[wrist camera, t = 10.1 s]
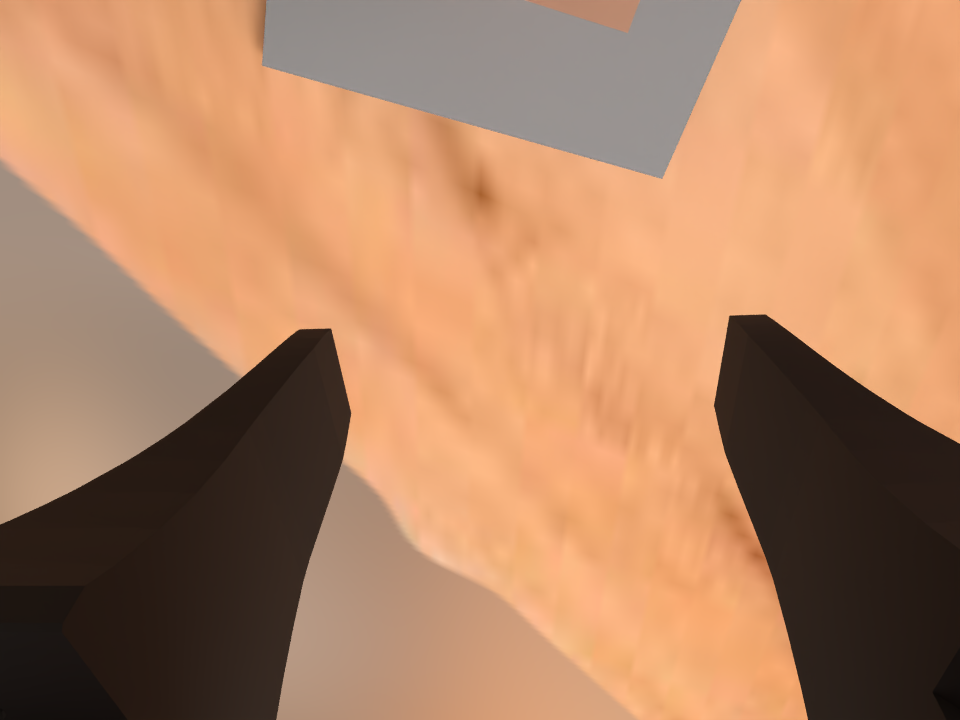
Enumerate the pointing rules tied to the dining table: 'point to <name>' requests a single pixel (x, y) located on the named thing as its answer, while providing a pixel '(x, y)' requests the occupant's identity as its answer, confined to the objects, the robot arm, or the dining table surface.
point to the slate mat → (515, 66)
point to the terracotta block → (597, 11)
